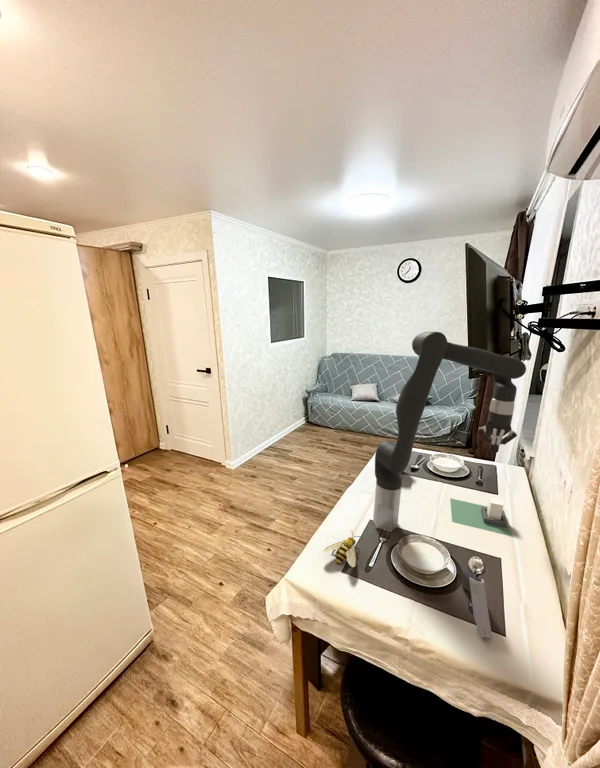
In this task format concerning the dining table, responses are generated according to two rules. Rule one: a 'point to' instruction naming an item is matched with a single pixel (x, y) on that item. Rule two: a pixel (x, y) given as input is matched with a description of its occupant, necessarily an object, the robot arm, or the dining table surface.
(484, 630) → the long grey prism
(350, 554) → the insect
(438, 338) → the robot arm
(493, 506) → the plug
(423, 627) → the dining table surface
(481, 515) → the board
